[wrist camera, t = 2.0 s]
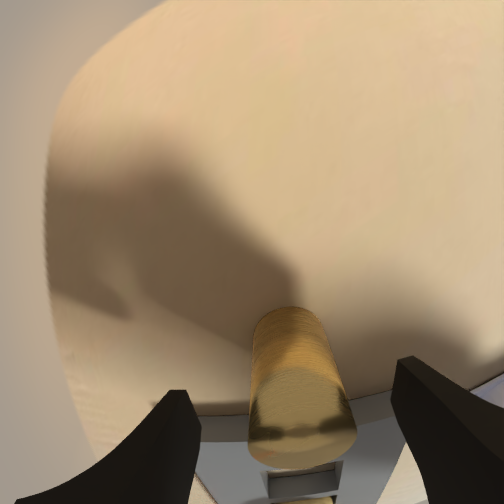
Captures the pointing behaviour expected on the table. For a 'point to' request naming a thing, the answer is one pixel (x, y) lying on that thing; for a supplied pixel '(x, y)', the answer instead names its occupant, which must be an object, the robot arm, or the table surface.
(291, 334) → the cylinder
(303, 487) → the housing
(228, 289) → the table surface
